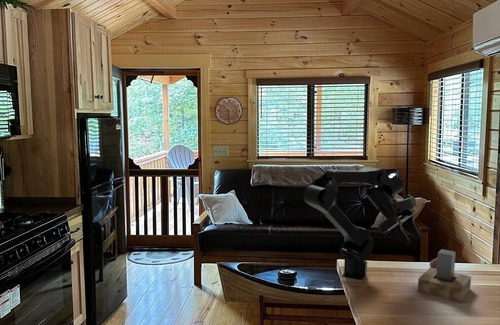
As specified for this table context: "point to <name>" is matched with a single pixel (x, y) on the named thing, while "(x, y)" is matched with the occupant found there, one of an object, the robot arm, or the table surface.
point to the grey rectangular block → (445, 265)
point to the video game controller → (434, 263)
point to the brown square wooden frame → (444, 285)
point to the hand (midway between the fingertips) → (414, 241)
